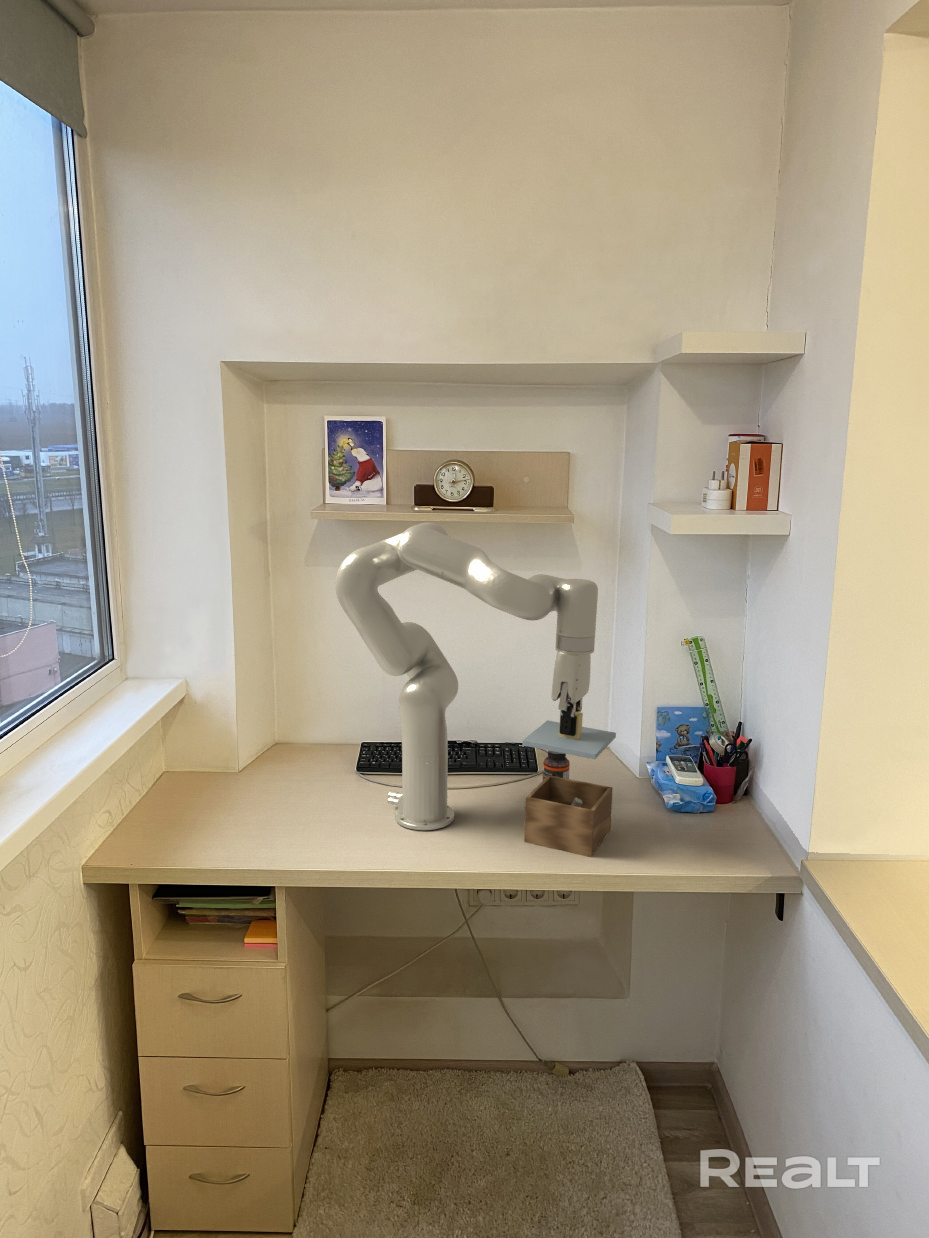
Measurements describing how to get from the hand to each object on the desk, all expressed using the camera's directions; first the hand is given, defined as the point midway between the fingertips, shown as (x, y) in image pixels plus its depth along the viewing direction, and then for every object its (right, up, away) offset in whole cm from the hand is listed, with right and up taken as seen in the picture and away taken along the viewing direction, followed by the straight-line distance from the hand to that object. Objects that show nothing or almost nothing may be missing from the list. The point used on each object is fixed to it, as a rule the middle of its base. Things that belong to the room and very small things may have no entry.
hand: (569, 731), depth 171 cm
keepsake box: (0, -22, +5) cm, 22 cm away
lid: (0, -2, 0) cm, 2 cm away
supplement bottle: (-1, -18, +23) cm, 30 cm away
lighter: (-1, -22, +5) cm, 23 cm away
